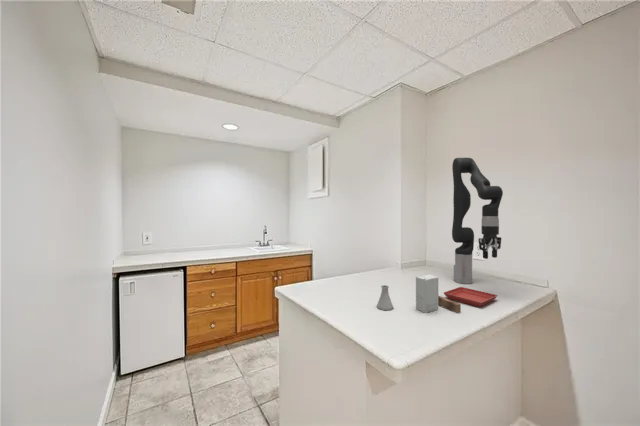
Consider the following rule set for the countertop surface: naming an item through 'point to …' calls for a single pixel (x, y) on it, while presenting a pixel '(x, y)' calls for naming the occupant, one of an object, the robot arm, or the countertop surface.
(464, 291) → the plant saucer
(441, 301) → the bar
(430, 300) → the skincare box
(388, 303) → the flask
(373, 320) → the countertop surface
